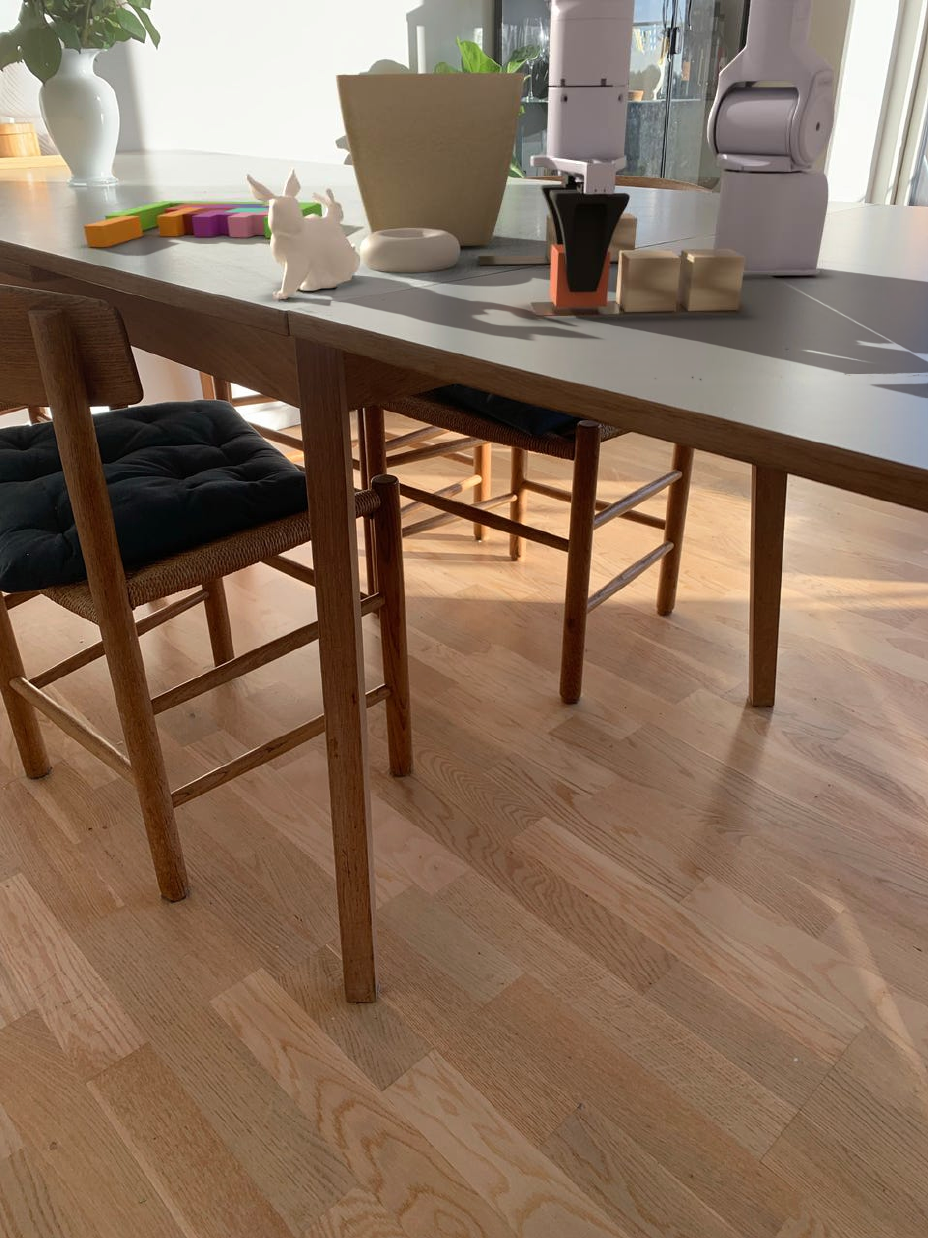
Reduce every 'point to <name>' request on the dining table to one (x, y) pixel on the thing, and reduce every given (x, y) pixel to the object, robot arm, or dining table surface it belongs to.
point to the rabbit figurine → (307, 240)
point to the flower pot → (432, 148)
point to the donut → (410, 250)
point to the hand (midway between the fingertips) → (578, 285)
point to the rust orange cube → (561, 289)
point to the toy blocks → (187, 220)
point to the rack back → (619, 241)
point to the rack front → (668, 284)
